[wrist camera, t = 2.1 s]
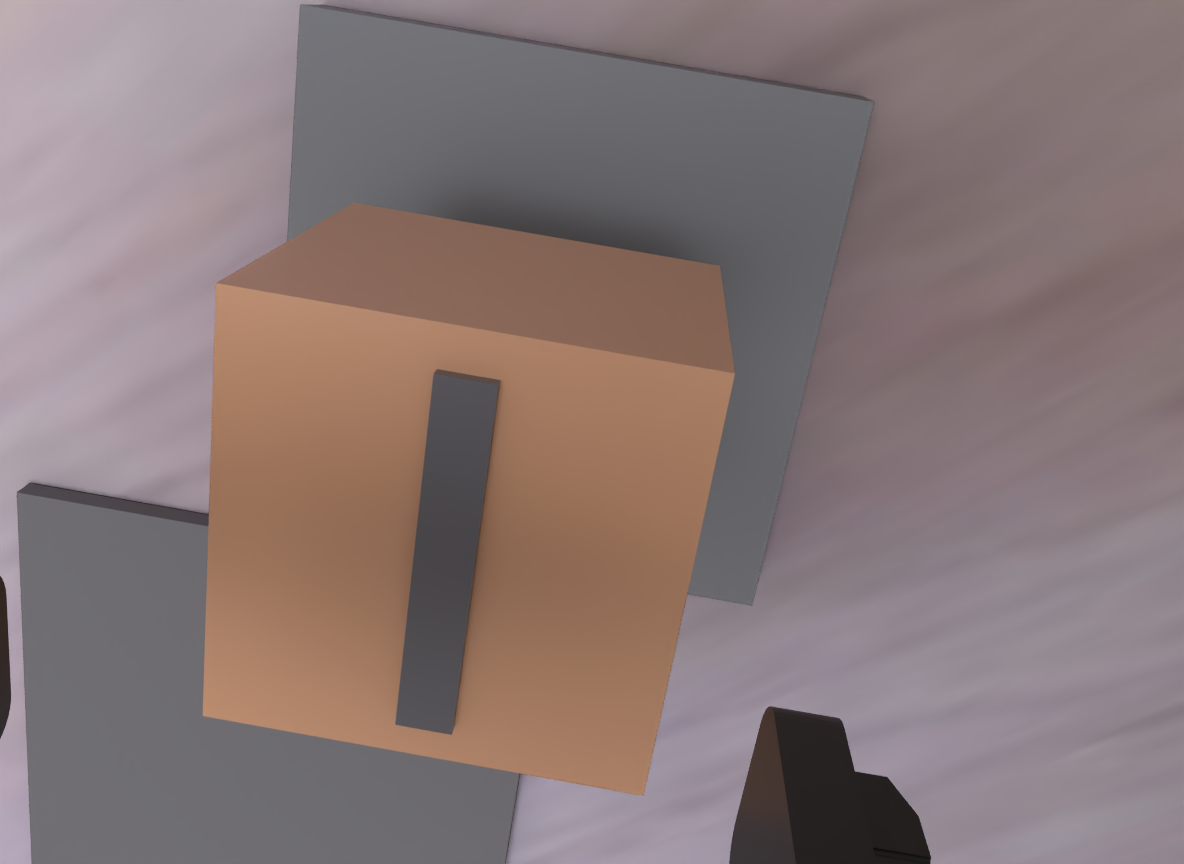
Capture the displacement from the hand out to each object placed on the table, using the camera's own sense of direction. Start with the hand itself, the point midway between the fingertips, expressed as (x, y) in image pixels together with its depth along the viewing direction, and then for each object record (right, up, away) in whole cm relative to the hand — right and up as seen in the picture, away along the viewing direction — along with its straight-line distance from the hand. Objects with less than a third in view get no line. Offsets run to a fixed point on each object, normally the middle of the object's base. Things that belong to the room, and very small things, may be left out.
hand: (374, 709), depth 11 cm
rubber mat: (-7, -6, +20) cm, 22 cm away
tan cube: (+1, +3, +9) cm, 9 cm away
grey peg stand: (+1, +6, +15) cm, 16 cm away
